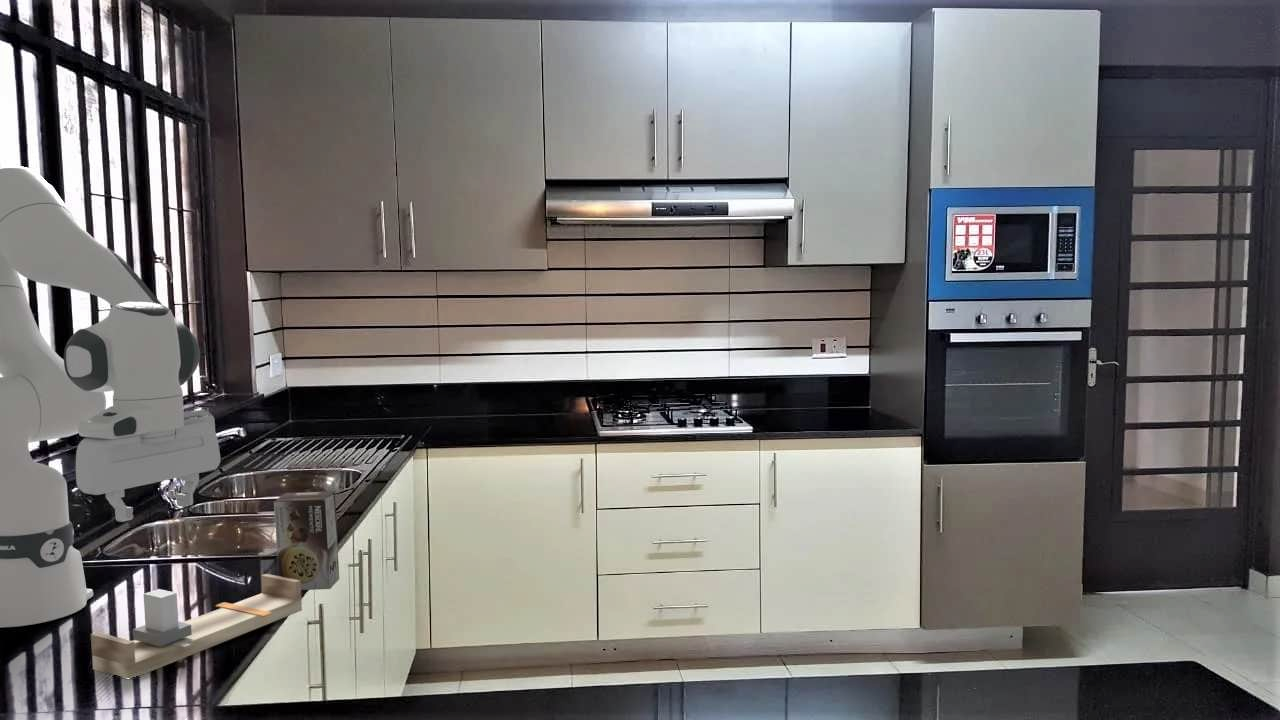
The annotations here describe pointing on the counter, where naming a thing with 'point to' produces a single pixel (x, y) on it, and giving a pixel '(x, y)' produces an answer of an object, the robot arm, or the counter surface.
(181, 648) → the fader track
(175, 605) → the fader tab
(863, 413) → the counter surface
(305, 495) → the coffee box
